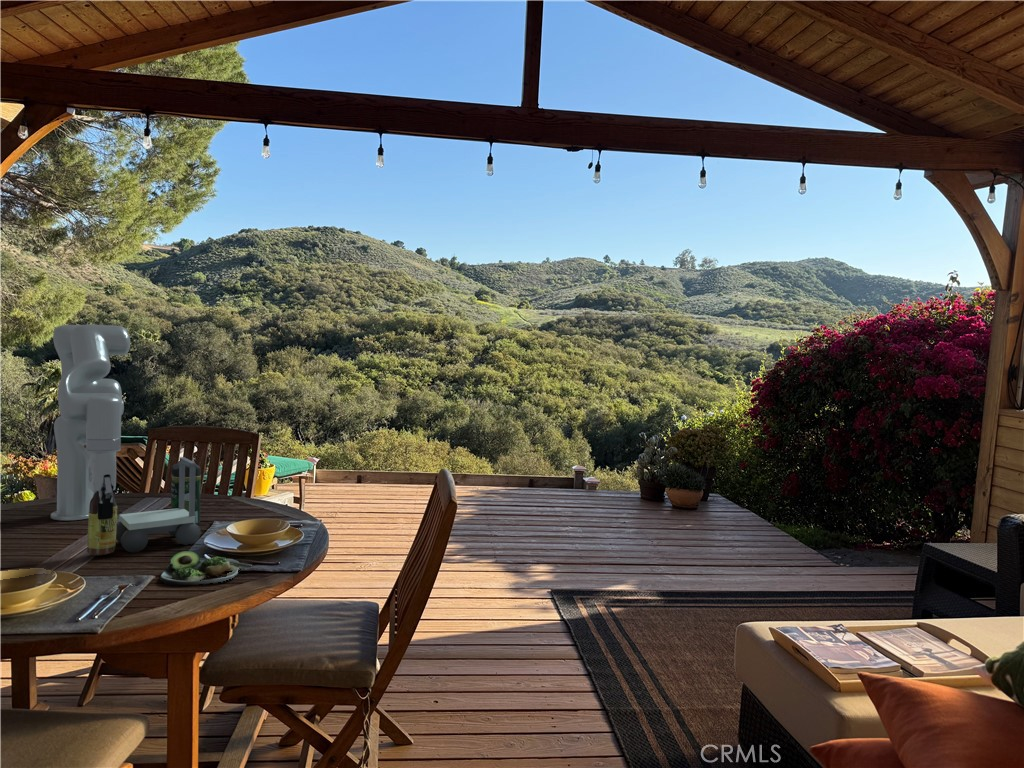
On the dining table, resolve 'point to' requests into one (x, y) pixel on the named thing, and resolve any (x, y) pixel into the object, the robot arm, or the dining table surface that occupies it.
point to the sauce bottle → (101, 529)
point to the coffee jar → (176, 489)
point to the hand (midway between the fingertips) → (102, 515)
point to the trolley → (162, 518)
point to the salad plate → (198, 569)
